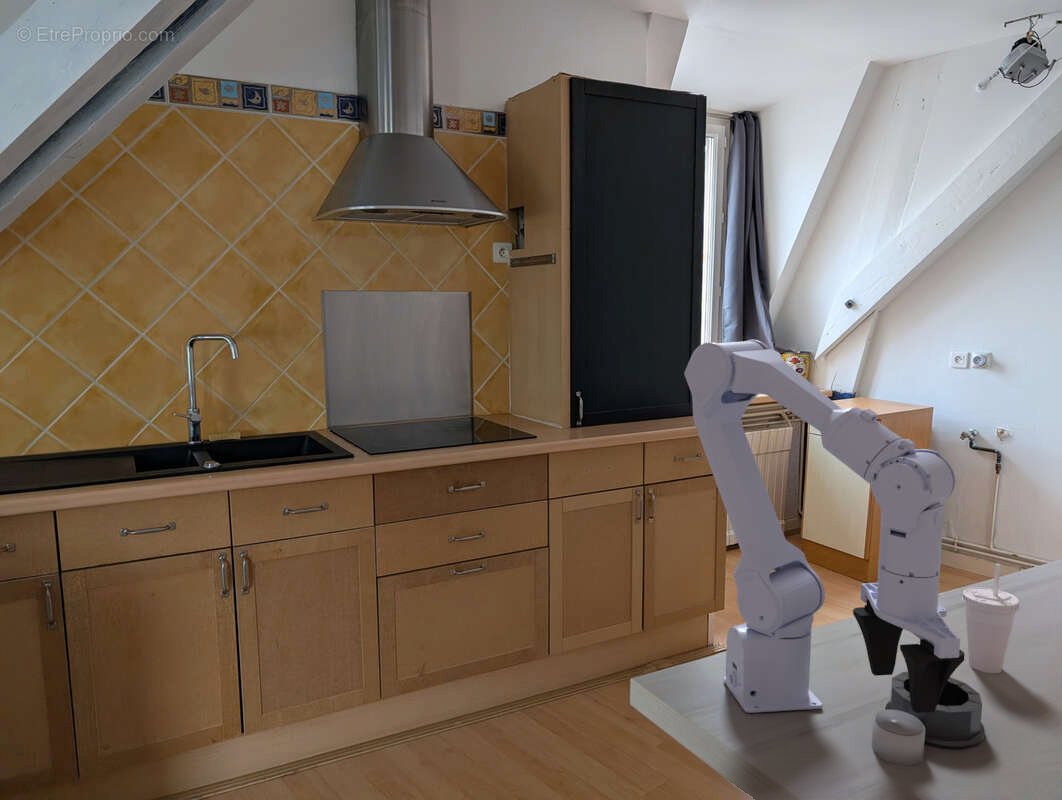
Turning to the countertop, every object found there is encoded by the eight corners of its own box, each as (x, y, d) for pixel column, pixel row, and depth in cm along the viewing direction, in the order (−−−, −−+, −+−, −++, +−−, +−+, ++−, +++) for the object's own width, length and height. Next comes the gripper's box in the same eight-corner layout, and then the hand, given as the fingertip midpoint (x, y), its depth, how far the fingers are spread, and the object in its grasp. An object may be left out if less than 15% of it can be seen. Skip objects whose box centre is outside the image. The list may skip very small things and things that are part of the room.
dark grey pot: (917, 752, 81) (920, 717, 80) (868, 702, 91) (869, 671, 90) (1005, 746, 82) (1008, 711, 81) (946, 698, 92) (949, 667, 91)
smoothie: (1022, 680, 96) (1031, 574, 94) (967, 675, 97) (975, 571, 95) (1002, 657, 102) (1010, 557, 100) (950, 653, 103) (957, 554, 101)
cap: (888, 767, 79) (890, 735, 78) (862, 739, 83) (864, 709, 83) (933, 764, 79) (935, 732, 79) (905, 736, 84) (907, 707, 83)
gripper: (993, 592, 72) (983, 727, 73) (904, 544, 86) (898, 657, 88) (922, 596, 71) (914, 731, 73) (845, 546, 85) (840, 660, 87)
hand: (901, 691), depth 80 cm, fingers open, 7 cm apart
